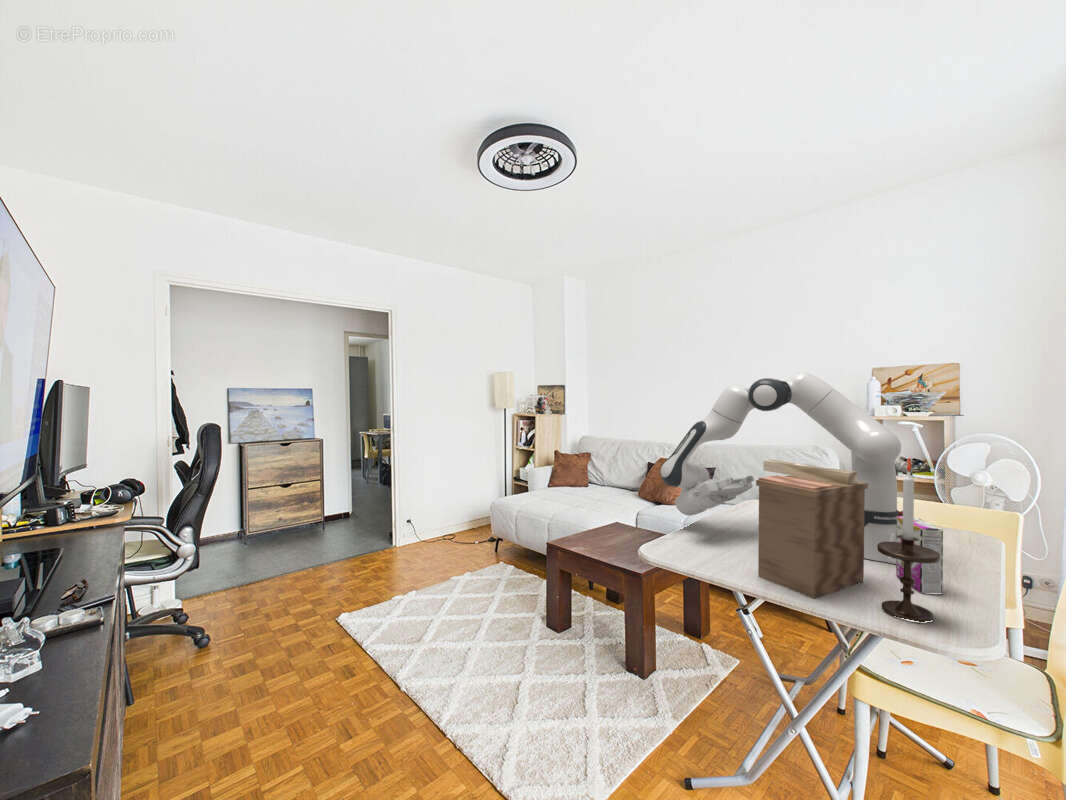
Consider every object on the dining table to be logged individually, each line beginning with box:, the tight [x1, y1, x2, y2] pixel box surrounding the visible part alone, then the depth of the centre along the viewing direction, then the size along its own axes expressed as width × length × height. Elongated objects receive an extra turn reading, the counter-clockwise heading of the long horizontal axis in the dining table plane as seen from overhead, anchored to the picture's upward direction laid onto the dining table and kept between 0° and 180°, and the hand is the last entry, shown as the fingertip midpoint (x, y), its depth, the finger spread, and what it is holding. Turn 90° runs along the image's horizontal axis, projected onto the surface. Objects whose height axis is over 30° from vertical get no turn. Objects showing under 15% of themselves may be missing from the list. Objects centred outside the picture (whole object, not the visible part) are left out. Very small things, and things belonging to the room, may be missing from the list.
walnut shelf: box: [755, 474, 868, 600], centre depth 122 cm, size 22×16×26 cm
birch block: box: [762, 459, 857, 485], centre depth 129 cm, size 4×24×3 cm, turn 27°
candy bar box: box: [895, 516, 944, 594], centre depth 118 cm, size 11×5×16 cm, turn 168°
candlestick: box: [878, 457, 940, 622], centre depth 103 cm, size 11×11×35 cm
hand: (742, 479), depth 148 cm, fingers open, 8 cm apart
